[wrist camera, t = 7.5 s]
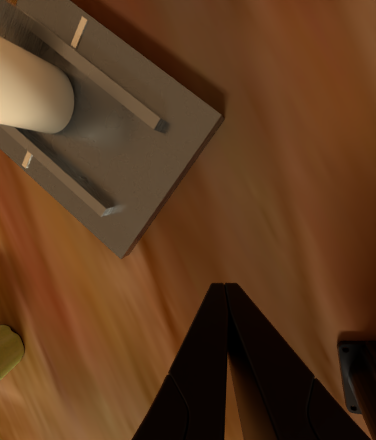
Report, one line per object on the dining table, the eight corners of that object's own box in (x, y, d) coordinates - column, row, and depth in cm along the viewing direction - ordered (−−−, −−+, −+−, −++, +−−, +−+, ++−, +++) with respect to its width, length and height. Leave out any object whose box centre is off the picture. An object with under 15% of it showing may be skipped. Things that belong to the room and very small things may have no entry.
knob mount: (224, 119, 19) (210, 98, 14) (129, 254, 24) (93, 275, 19) (42, -18, 21) (-27, -80, 16) (-8, 130, 27) (-72, 120, 22)
